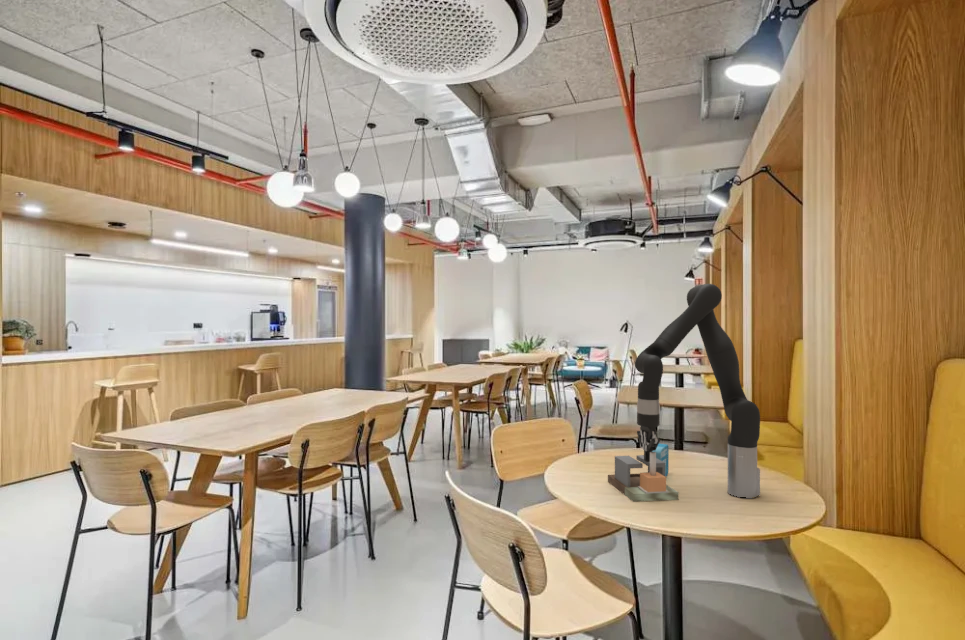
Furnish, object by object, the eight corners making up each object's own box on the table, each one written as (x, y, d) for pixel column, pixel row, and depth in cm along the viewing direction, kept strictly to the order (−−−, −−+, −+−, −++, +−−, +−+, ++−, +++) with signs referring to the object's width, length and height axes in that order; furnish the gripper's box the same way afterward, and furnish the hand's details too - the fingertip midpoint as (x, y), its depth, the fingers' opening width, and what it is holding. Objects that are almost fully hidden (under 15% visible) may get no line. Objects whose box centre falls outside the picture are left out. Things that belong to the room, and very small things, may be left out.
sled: (659, 486, 174) (659, 450, 174) (668, 492, 168) (668, 454, 168) (637, 487, 173) (637, 450, 173) (645, 493, 167) (645, 455, 167)
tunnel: (650, 476, 187) (650, 454, 187) (665, 485, 176) (665, 462, 176) (614, 477, 185) (614, 456, 185) (627, 487, 174) (627, 464, 174)
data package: (660, 481, 189) (660, 450, 189) (648, 479, 191) (648, 448, 191) (668, 474, 199) (668, 443, 199) (656, 472, 201) (657, 442, 201)
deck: (647, 479, 191) (647, 473, 191) (678, 499, 169) (678, 492, 169) (607, 481, 189) (607, 474, 189) (633, 501, 167) (633, 494, 167)
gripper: (668, 415, 168) (667, 466, 169) (649, 408, 182) (649, 455, 182) (646, 415, 167) (646, 467, 168) (629, 408, 180) (629, 456, 181)
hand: (647, 461), depth 175 cm, fingers closed
